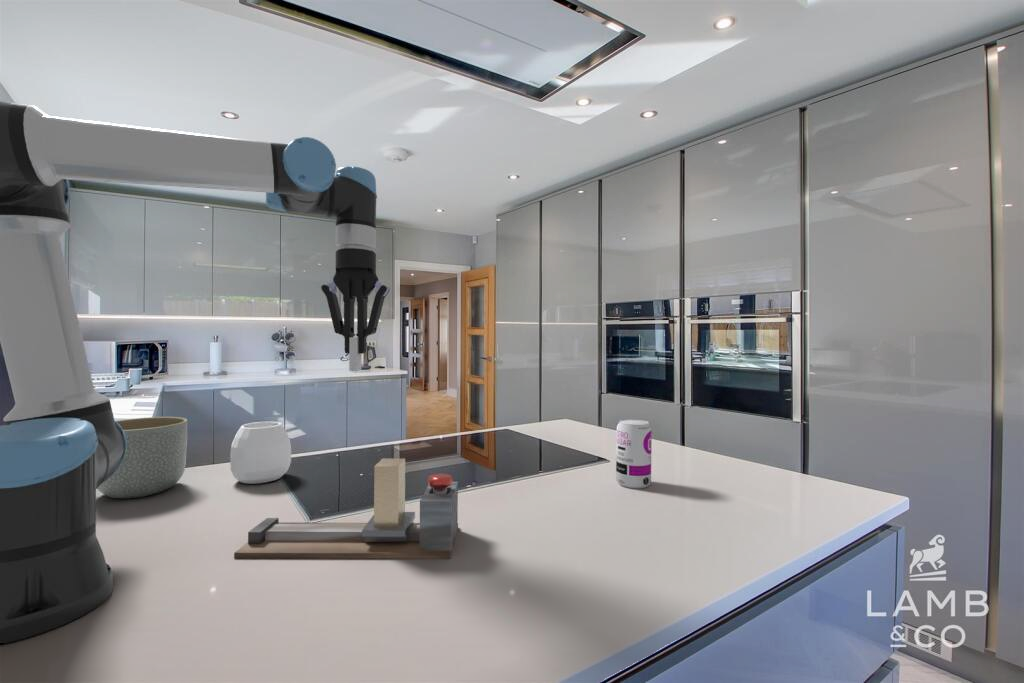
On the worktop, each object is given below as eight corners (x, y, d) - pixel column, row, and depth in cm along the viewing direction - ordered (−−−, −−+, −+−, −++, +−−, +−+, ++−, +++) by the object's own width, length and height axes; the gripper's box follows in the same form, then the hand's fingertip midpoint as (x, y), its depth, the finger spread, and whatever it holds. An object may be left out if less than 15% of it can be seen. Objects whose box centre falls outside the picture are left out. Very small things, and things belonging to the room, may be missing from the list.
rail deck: (449, 558, 73) (450, 503, 73) (234, 557, 73) (234, 502, 73) (458, 527, 85) (458, 479, 85) (272, 526, 85) (273, 478, 85)
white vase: (282, 468, 122) (282, 417, 122) (298, 480, 112) (298, 425, 112) (224, 478, 113) (224, 423, 113) (236, 492, 103) (237, 432, 103)
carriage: (405, 545, 75) (405, 469, 75) (361, 545, 75) (362, 468, 75) (415, 525, 83) (415, 456, 83) (376, 525, 83) (376, 456, 83)
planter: (158, 476, 114) (158, 414, 114) (204, 485, 108) (204, 419, 108) (72, 498, 99) (72, 426, 99) (119, 510, 92) (119, 433, 92)
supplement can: (654, 482, 113) (655, 421, 113) (645, 491, 106) (645, 426, 106) (622, 476, 117) (623, 417, 117) (611, 485, 110) (611, 422, 110)
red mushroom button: (450, 523, 77) (450, 480, 77) (426, 523, 77) (426, 480, 77) (452, 514, 81) (453, 473, 81) (430, 514, 81) (430, 473, 81)
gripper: (394, 254, 94) (393, 369, 94) (330, 253, 94) (329, 369, 94) (384, 246, 87) (383, 372, 87) (314, 246, 87) (314, 371, 87)
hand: (355, 370), depth 91 cm, fingers closed
